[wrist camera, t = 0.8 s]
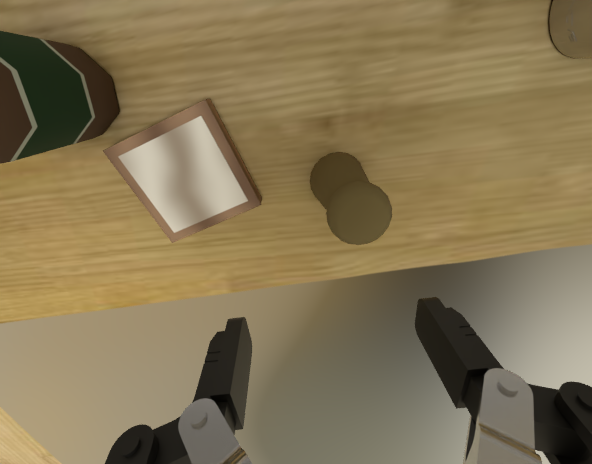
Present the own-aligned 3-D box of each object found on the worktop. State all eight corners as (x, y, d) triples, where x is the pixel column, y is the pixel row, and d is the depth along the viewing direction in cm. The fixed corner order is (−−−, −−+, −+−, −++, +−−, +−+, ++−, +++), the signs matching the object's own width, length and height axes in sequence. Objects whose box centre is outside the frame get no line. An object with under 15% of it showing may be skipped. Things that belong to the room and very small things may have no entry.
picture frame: (209, 98, 26) (204, 99, 24) (261, 198, 31) (260, 205, 29) (113, 146, 28) (101, 151, 26) (177, 234, 33) (171, 243, 31)
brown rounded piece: (302, 197, 31) (314, 246, 22) (320, 144, 29) (342, 174, 19) (351, 210, 33) (382, 263, 23) (372, 161, 30) (418, 197, 20)
